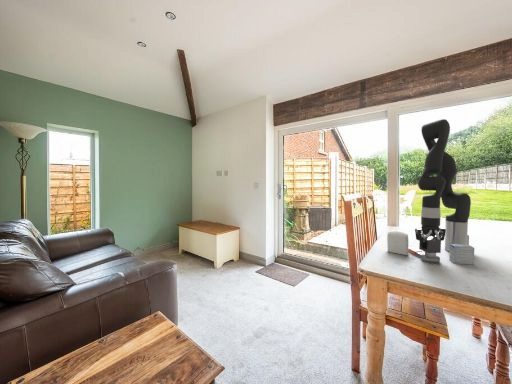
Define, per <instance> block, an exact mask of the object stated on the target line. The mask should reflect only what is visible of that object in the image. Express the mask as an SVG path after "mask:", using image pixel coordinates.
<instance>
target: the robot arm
mask: <svg viewBox="0 0 512 384" xmlns="http://www.w3.org/2000/svg"><path fill="white" fill-rule="evenodd" d="M450 126H451V125H450V123H449V121H448V120H447V119H443V118H442V119H438V120H435V121H432V122H429V123H426V124H423V125H422V126H421V130H420V131H421V136H422V138H423V141H424V143H425V145H426V148H427V150H428V153H427V154H426V157H425V160H424V168H423V171H422V174H421V175H420V177H419V179H418V182H417V186H418V189H420V190H421V191H429V192H430V191H435V192H434V193H433V194H426V195H423V196H422V198H421V203H422V204H421V210H420V211H421V213H420V214H421V215H420V216H421V217H420V225H421V228H415V229H414V231H415V240H417V241H419V243H420V247H421V248H422V249H426V242H425V241H426V239H427V238H428V237H433V238H436V239H440V240H441V242H442V241H444V250H445V251H447V252H450V244H460V245H470V235H469V234H468V231H469V230H468V226H469V223H468V222H469V218H470V214H471V204H472V203H471V202H472V200H471V196H470V195H469V194H468V193H465V192H454V191H453V186H452V183H453V181H454V179H455V177H456V175H457V172H458V169H457V164H456V161H455V158H454V157H453V156H452V155H450V154H449V153H448V152H446V150H445V149H446V147H447V144H448V140H449V137H450V132H451V127H450ZM434 175H435V176H434ZM441 202H442V204H443V206H444V207H445V208H448V209H453V210H454V213H452V214H447V215H446V216H445V225H444V228H443V227H440V226H441V213H442V212H441ZM423 238H424V239H423Z"/></svg>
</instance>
